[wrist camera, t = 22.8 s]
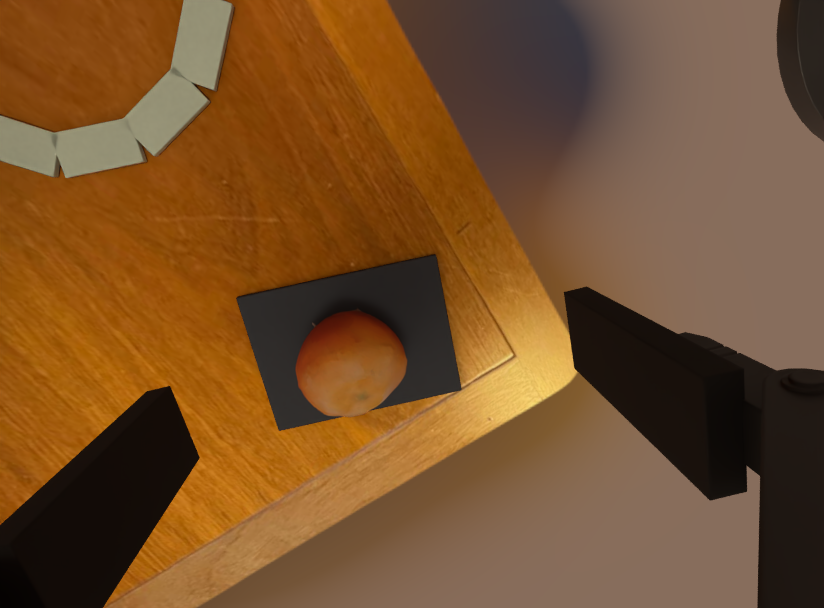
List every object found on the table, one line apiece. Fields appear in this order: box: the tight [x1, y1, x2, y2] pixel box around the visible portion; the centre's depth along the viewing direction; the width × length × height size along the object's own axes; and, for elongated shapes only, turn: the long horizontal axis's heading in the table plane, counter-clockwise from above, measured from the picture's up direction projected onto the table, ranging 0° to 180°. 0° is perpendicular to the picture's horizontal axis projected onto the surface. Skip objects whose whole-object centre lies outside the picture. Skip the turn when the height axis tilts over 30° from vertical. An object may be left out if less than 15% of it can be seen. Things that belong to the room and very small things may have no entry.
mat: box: [236, 254, 461, 431], centre depth 38 cm, size 16×12×1 cm
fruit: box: [296, 308, 407, 417], centre depth 34 cm, size 8×8×8 cm
